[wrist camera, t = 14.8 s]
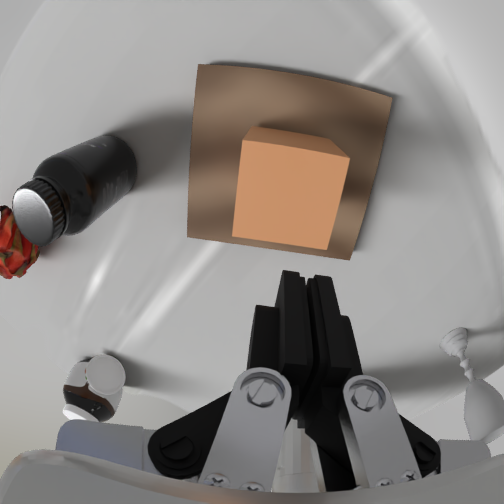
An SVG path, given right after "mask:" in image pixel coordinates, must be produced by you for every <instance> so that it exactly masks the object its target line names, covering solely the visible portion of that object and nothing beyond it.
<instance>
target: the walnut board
mask: <svg viewBox="0 0 504 504" xmlns="http://www.w3.org/2000/svg"><path fill="white" fill-rule="evenodd" d="M391 103H392V97H388V96H385V95H382V94H379V93H376V92H372V91H369V90H365V89H362V88H358V87H354V86H351V85H347V84H343V83H338V82H334V81H330V80H325V79H321V78H316V77H311V76H305V75H300V74H294V73H288V72H281V71H274V70H267V69H259V68H249V67H238V66H225V65H204V64H198V70H197V79H196V89H195V99H194V110H193V122H192V135H191V150H190V167H189V188H188V220H187V237H190V238H197V239H205V240H212V241H219V242H226V243H233V244H240V245H247V246H254V247H261V248H268V249H275V250H282V251H289V252H296V253H302V254H309V255H316V256H323V257H330V258H337V259H343V260H350V258H351V255H352V252H353V249H354V246H355V243H356V240H357V237H358V234H359V231H360V227H361V224H362V221H363V217H364V214H365V211H366V207H367V204H368V200H369V197H370V193H371V190H372V186H373V182H374V178H375V175H376V171H377V167H378V163H379V159H380V155H381V150H382V146H383V142H384V137H385V133H386V128H387V123H388V118H389V113H390V108H391ZM252 126H255V127H263V128H270V129H277V130H283V131H290V132H296V133H301V134H307V135H312V136H318V137H323V138H328V139H330V140H331V141H332V142H333V143H334V144H335V145H336V146H338V147H339V148H340V149H341V150H342V151H343V152H344V153H345V154H346V155H347V156H348V157H349V158H350V161H349V165H348V169H347V174H346V178H345V182H344V186H343V191H342V195H341V199H340V203H339V206H338V210H337V214H336V218H335V222H334V226H333V229H332V233H331V237H330V240H329V244H328V247H327V250H323V249H316V248H309V247H303V246H296V245H289V244H282V243H275V242H268V241H261V240H254V239H247V238H240V237H233V236H232V231H233V221H234V212H235V202H236V193H237V184H238V175H239V166H240V157H241V148H242V140H243V138H244V137H245V135H246V134H247V132H248V131H249V129H250V128H251V127H252Z"/></svg>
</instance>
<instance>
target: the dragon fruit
mask: <svg viewBox="0 0 504 504" xmlns="http://www.w3.org/2000/svg"><path fill="white" fill-rule="evenodd" d="M0 211H1V221H0V275H1V276H3V277H4V278H6V279H11V278H12V277H13V276H17V277H18V278H20V277H22V276H23V275H24V274H26V270H27V269H28V268H29V267H30V266H31V265H32V264H34V263H35V261H37V258H38V257H39V254H40V251H39V250H38V246H37V245H35V244H33V243H31V242H29V241H28V239H26V238H25V237H24V235H23V234H22V233H21V231H20V230H19V228H18V226H17V224H16V221H15V219H14V215H13V212H12V210H11V208H9V207H8V206H5V205H3V206H0Z"/></svg>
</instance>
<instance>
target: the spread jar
mask: <svg viewBox="0 0 504 504" xmlns="http://www.w3.org/2000/svg"><path fill="white" fill-rule="evenodd" d="M125 379H126V375H125V370H124V368H123V366H122V364H121V363H120V362H119V361H118V360H117V359H116V358H114V357H112V356H110V355H105V354H104V355H97V356H95V357H93V358H92V359H88V360H83V361H80V362H78V363H77V364H75V365H74V367H73V368H72V370H71V371H70V373H69V375H68V377H67V379H66V381H65V384H64V388H63V393H64V398H65V401H66V405H65V406H64V409H63V413H64V415H65V416H66V417H67V418H68V419H70V420H73V419H82V420H88V421H95V422H104V421H107V420H109V419H110V418H112V417H113V416H114V414H115V412H116V410H117V408H118V405H119V402H120V400H121V396H122V387H123V385H124V383H125Z"/></svg>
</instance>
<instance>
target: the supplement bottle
mask: <svg viewBox="0 0 504 504" xmlns="http://www.w3.org/2000/svg"><path fill="white" fill-rule="evenodd" d="M136 173H137V167H136V161H135V157H134V155H133V153H132V151H131V149H130V148H129V146H128V145H127V144H126V143H125V142H124V141H122V140H121V139H119V138H117V137H114V136H109V135H105V136H100V137H96V138H94V139H91V140H88V141H86V142H83V143H81V144H78V145H76V146H73V147H71V148H69V149H66V150H64V151H62V152H59V153H57V154H55V155H53V156H51V157H49V158H47V159H45V160H44V161H43V162H42V163H41V164H40V165H39V166H38V168H37V169H36V171H35V173H34V175H33V178H32V179H31V180H29V181H28V182H27V183H25V184H24V185H22V186H21V187H20V188H18V189H17V191H16V192H15V194H14V197H13V202H12V204H13V206H12V209H13V215H14V219H15V221H16V224H17V226H18V228H19V230H20V231H21V233H22V234H23V235H24V237H25V238H26V239H28V241H29V242H31V243H33V244H35V245H37V246H46V245H49V244H50V243H52V242H53V241H54V240H55V239H57V238H59V237H60V236H61V235H67V236H68V235H75V234H78V233H80V232H82V231H83V230H85V229H86V228H87V227H88V226H89V225H91V224H92V223H93V222H94V221H95V220H96V219H97V218H99V217H100V216H101V215H102V214H103V213H104V212H106V211H107V210H108V209H109V208H110V207H111V206H113V205H114V204H115V203H116V202H117V201H119V200H120V199H121V198H122V197H123V196H125V195H126V194H127V193H128V192H129V191H130V189H131V188H132V186H133V184H134V182H135V179H136Z"/></svg>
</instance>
